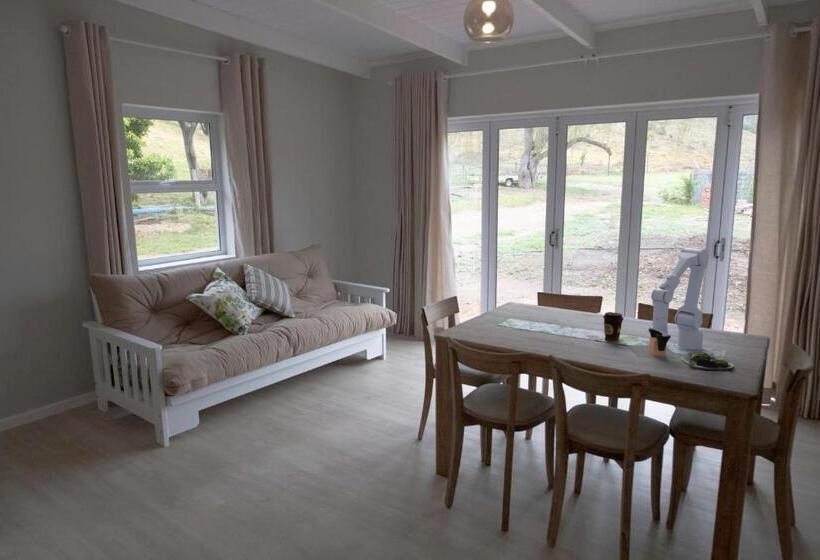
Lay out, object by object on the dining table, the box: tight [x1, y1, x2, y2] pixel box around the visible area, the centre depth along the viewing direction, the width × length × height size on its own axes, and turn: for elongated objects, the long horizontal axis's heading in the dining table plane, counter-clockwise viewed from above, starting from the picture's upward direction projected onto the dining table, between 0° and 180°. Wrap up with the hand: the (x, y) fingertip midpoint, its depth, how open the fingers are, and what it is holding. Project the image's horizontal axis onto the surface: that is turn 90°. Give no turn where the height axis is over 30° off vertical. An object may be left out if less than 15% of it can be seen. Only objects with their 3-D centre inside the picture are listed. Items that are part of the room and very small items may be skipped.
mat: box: [626, 344, 681, 359], centre depth 238 cm, size 17×17×1 cm
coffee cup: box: [602, 311, 624, 343], centre depth 254 cm, size 9×8×13 cm
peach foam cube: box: [648, 336, 668, 356], centre depth 233 cm, size 5×5×7 cm
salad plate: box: [681, 352, 735, 372], centre depth 222 cm, size 19×18×5 cm
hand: (658, 348), depth 234 cm, fingers open, 7 cm apart
